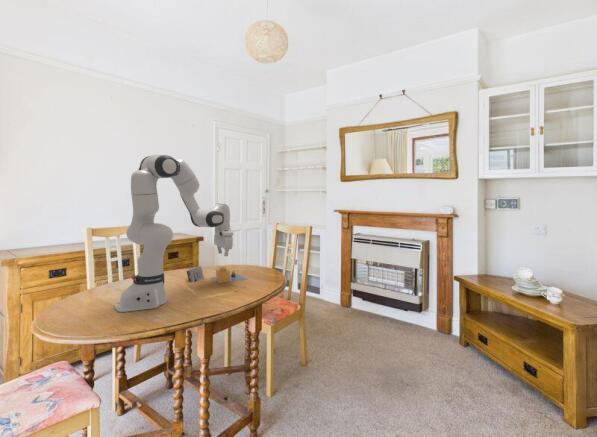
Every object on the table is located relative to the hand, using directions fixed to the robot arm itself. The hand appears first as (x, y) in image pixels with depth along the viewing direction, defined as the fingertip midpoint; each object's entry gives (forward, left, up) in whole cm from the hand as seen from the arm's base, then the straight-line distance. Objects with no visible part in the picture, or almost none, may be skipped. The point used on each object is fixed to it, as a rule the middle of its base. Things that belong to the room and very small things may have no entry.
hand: (223, 254), depth 186 cm
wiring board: (+5, +3, -17) cm, 18 cm away
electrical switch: (-13, +11, -18) cm, 25 cm away
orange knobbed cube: (0, 0, -16) cm, 16 cm away
